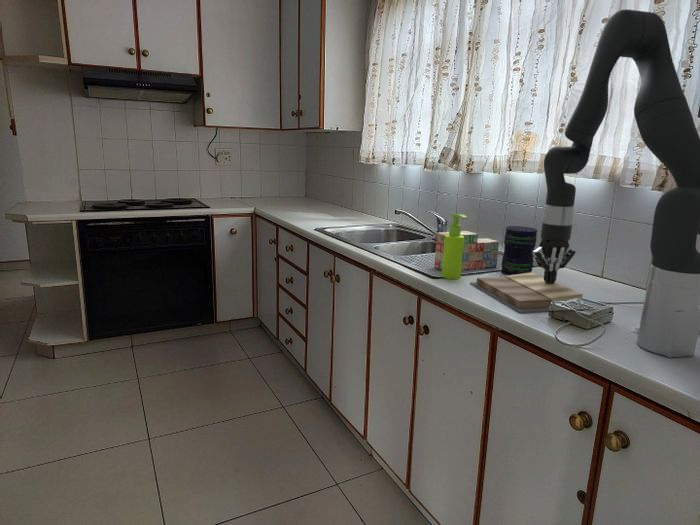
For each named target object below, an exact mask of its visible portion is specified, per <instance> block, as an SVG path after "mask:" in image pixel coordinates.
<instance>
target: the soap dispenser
mask: <svg viewBox="0 0 700 525" xmlns="http://www.w3.org/2000/svg"><path fill="white" fill-rule="evenodd" d="M450 217H452V222H451V223H450V224H449V230H448V232H449V234H448V235H445V239H444V251H443V264H442V270H441V278H443V277H444V279H447V280H460V279H461V275H462V270H461V266H462V255H463V244H464V236H461V235H460V231H462V230H461V229H462V225H461V224H460V223H459V220H460V219H467V218H468V216H467V215H466V214H463V213H462V214H461V213H451V214H450Z"/></svg>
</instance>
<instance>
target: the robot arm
mask: <svg viewBox="0 0 700 525" xmlns="http://www.w3.org/2000/svg"><path fill="white" fill-rule="evenodd" d="M668 37H669V36H668V33H667V29H666V25H665V22H664V21H663V19H662V17H661V16H660V15H659V14H657V13H655V12H650V11H644V10H643V11H642V10H636V9H629V8H628V9H620V10H618V11H616V12H615V13H613V14H612V16H610V17H609V18H608V20H607V22H606V23H605V25H604V27H603V30H602V32H601V34H600V37H599V39H598V41H597V45H596V49H595V52H594V55H593V58H592V61H591V64H590V66H589V70H588V73H587V77H586V80H585V82H584V83H585V84H584V87H583V89H582V93H581V95H580V98H579V99H578V103H577V105H576V107H575V109H574V111H573V112H572V114H571V116H570V119H569V120H568V123H567V125H566V127H565V131H564V135H565V136H564V137H566V138H567V139H568V140H569V141H571V142H572V144H571V146H553V147H551V148H549V149H548V150H547V151H546V154H545V156H544V159H543V170H544V176H545V183H546V189H547V192H546V199H545V205H544V210H543V215H542V221H541V231H540V232H541V233H540V239H541V241H540V242H539V246H538V247H537V248H536V249H534V250H532V251H531V254H532V255H533V259H534V261H535V262H536V264H537V266H538V267H539V268H542V269H544V275H543V277H544V281H545V282H546V283H548V284H553V283H555V282H556V280H557V276H558V271H559V270H560V269H564V268H566V266H568V263H569V262H570V261H571V260H572V258H573V257H574V256H575V255H576V250H575V249H572V248H571V247H570V242H569V241H570V239H571V237H572V236H571V235H572V229H573V223H574V215H575V214H574V210H575V209H574V206H575V199H576V192H577V191H576V190H577V189H576V186H575V185H574V184H573V183H569V182H566V178H565V174H566V175H568V174H569V175H572V174H573V175H574V174H578V173H580V172H581V171H582V170H583V169H585V167H586V166H587V164H588V162H589V159H590V154H591V149H592V147H593V146H592V145H593V142H594V141H593V140H594V138H595V136H596V133H597V132H598V130H599V128H600V126H601V124H602V122H603V121H604V119H605V117H606V114H607V113H608V112H607V111H608V107H609V106H608V105H609V84H610V83H609V82H610V78H611V74H612V72H613V69H614V67H615V66H616V64H617V62H618V61H619V59H620V58H629V59H632V60H633V61H634V63H635V65H636V67H637V69H638V70H637V71H638V73H639V76H640V86H639V89H638V92H637V96H636V98H635V102H634V106H633V115H634V118H635V122H636V125H637V129H638V132H639V135H640V137H641V140H642V141H643V143H644V145H645V146H646V147H647V149H648V151H650V152H651V153H652V154H653V155H654V157H656V159H657V160H658V161H659V162H660V163H661V164H662V165H663V166H664V167H665V168H666V169H667V170H668V172H669V173H670V174H671V176H672V178H673V180H674V182H675V185H676V187H673V188H670V189H668V190H666V191H665V192H664V193H663V194H662V195H661V196H660V198H659V199H658V201H657V204H656V206H655V209H654V214H653V221H652V230H651V236H650V237H651V239H650V244H649V245H650V246H649V247H650V253H651V264H650V270H649V275H648V279H647V280H648V281H647V286H646V289H645V290H646V292H645V297H644V299H643V300H644V301H643V306H642V311H641V317H640V322H639V328H638V334H637V339H636V340H637V341H636V344H637V345H638V346H639V347H640V348H642V349H644V350H646V351H649V352H652V353H654V354H657V355H662V356H666V357H667V358H670V359H671V358H680V357H681V358H682V357H692V356H694V355H695V351H696V346H697V343H698V338H699V332H700V309H699V308H700V252H699V251H698V250H697V239H698V236H699V235H700V135H699V132H698V130H697V127H696V124H695V121H694V118H693V114H692V111H691V109H690V106H689V104H688V100H687V98H686V96H685V93H684V90H683V89H682V85H681V82H680V80H679V76H678V73H677V70H676V67H675V65H674V61H673V57H672V53H671V47H670V43H669V38H668Z"/></svg>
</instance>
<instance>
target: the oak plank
mask: <svg viewBox="0 0 700 525" xmlns="http://www.w3.org/2000/svg"><path fill="white" fill-rule="evenodd" d="M504 277H506V278H508V279H510V280H512V281H514V282H516V283H518V284H520V285H522V286H524V287H526V288H528V289H530V290H532V291H534V292H537V293H539V294H541V295H543V296H545V297H547V298H549V299H551V302H553V301H567V300H570V299H573V298H582V299H583V293H581V292H579V291H576V290H574V289H572V288H569V287H567V286H566V285H562V284H560V283H557V282H556V281H555V283H553V284H548V283H546V282H545V281H544V276H541V275H539V274H537V273H535V272H530V273H523V274H516V275H505V276H504ZM550 305H551V303H550Z"/></svg>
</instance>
